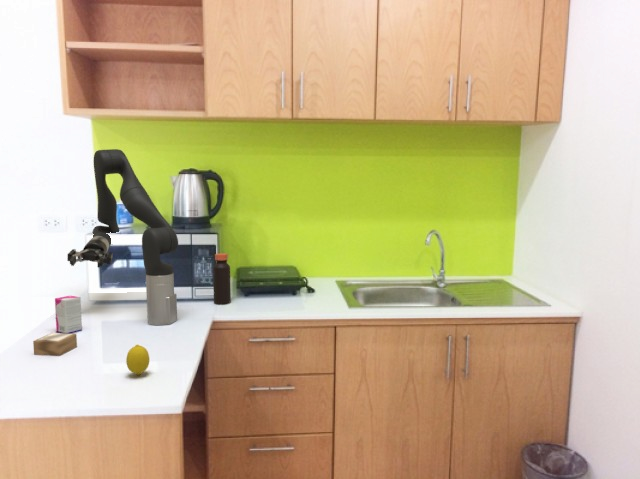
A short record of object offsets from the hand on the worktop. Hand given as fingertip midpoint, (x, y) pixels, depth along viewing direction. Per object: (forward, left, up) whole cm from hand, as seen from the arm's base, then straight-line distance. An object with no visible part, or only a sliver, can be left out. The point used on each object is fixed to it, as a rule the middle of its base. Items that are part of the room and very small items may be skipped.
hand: (85, 264), depth 175 cm
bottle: (-37, -34, -21) cm, 55 cm away
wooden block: (-8, +28, -21) cm, 36 cm away
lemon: (-41, +42, -21) cm, 63 cm away
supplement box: (0, +10, -21) cm, 23 cm away
